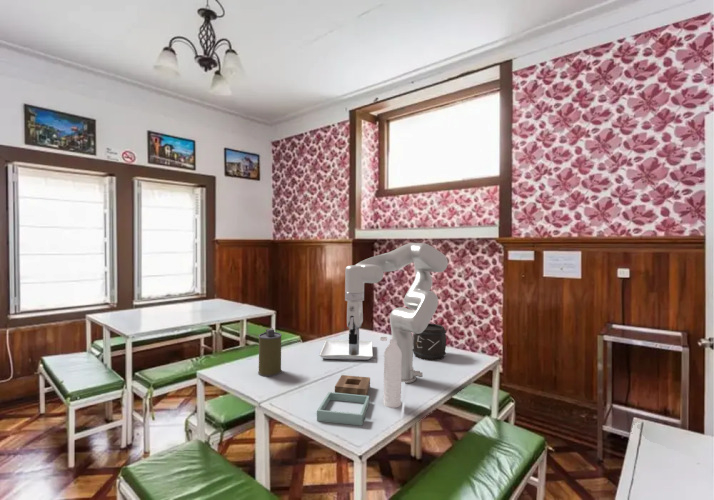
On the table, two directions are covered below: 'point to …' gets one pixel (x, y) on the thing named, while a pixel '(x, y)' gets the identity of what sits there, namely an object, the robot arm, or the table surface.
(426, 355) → the black cylinder
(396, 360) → the water bottle
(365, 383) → the block
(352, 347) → the steel pin
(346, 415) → the tray
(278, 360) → the canister
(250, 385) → the table surface
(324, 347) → the square plate
